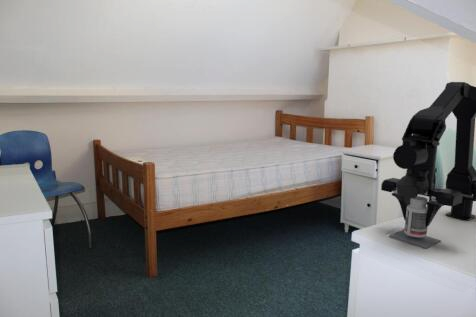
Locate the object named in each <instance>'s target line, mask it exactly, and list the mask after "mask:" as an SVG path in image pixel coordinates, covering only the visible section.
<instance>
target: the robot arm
mask: <svg viewBox="0 0 476 317" xmlns="http://www.w3.org/2000/svg"><path fill="white" fill-rule="evenodd" d="M451 113H452V114H453V116H454V117H455V119H456V128H455V146H454V166H453V168H452V169H451V170H450V171H449V172H448V173H447V174H446V180H445V188H444V189H441V190H435V188H436V184H435V183H434V180H435V179H434V178H435V173H437V172H438V168H436V162H437V152H438V146H440V140H442V139H441V138H442V137H443V135H444V133H445V131H446V129H447V124H446V119H447V118H448V117H449V116H450V115H451ZM475 128H476V86H474V85H471V84H469V83H468V82H466V81H450V82H447V83H446V84H445V87H444V89H443V91H441V93H439V95H438V96H437V97H436V98H435V100H434V101H433V102H432V103H431V105H429V107H426V108H423V109H420V110H419V111H417V112H416V113H415V114H414V115H412V117H411V118H410V120H409V122H408V125H407V127H406V129H405V131H404V133H403V135H402V138H401V141H402V144H401V145H399V146H397V147H396V148H395V150H394V152H393V153H392V154H393V155H392V158H393V161H394V164H395V165H396V166H397V167H398V168H400V169H402V170H406V173H405V175H403V176H402V177H401V178H396V177H391V178H386V179H384V180H383V181H382V182H381V184H380V185H381V187H380V190H381V191H384V192H388V193H391V196H393V197H395V198H396V199H397V201H398V203H399V206H400V208H401V212H402V216H403V220H404V221H405V219H406V209H407V206H408V205H410V204H411V203H410V200H411V198H416V197H417V196H418V195H419V196H423V197H428V198H429V197H430V199H431V200H429V201H427V205H426V206H427V207H428V211H427V216H426V226H427V228H428V227H429V226H430V225H431V223H432V221H433V220H434V219H435V216H436V215H437V213H439V212H438V211H439V210H441V208H442V206H447V207H450V211H449V212H447V213H445V216H447V217H451V218H455V219H459V220H464V221H470V220H472V219H474V218H476V214H472V213H473V208H474V207H473V206H474V202H476V168H475V167H474V166H473V163H474V160H473V159H474V148H475V147H474V144H475V131H476V130H475Z"/></svg>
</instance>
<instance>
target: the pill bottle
mask: <svg viewBox="0 0 476 317" xmlns="http://www.w3.org/2000/svg"><path fill="white" fill-rule="evenodd" d="M427 202H428V198H427V197H426V196H421V195H419V196H418V195H417V197H416V198H411V200H410V203H411V204H410V205H408V206H407V209H406V219H405V220H404V222H405V223H404V229H405V230H404V229H403V230H404V232H405V234H407V235H409V236H412V237H425V236H428V235H427V232H428V227H427V226H426V216H427V211H428V206H427Z"/></svg>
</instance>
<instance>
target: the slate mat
mask: <svg viewBox="0 0 476 317" xmlns="http://www.w3.org/2000/svg"><path fill="white" fill-rule="evenodd" d="M404 230H405V228H404V229H402V230H401V229H400V230H399V231H397V232H394V233H392V234H389V235H388V238H391V239H393V240H397V241H399V242H403V243H407V244H410V245H412V246H416V247H419V248H421V249H425V250H427V249H429V248H431V247H433V246H435V245H438V244H439V243H441V241H442V240H441V239H438V238H434V237H432V236H428V235H426V236H425V237H412V236H409V235H407V234H405V232H404Z"/></svg>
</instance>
